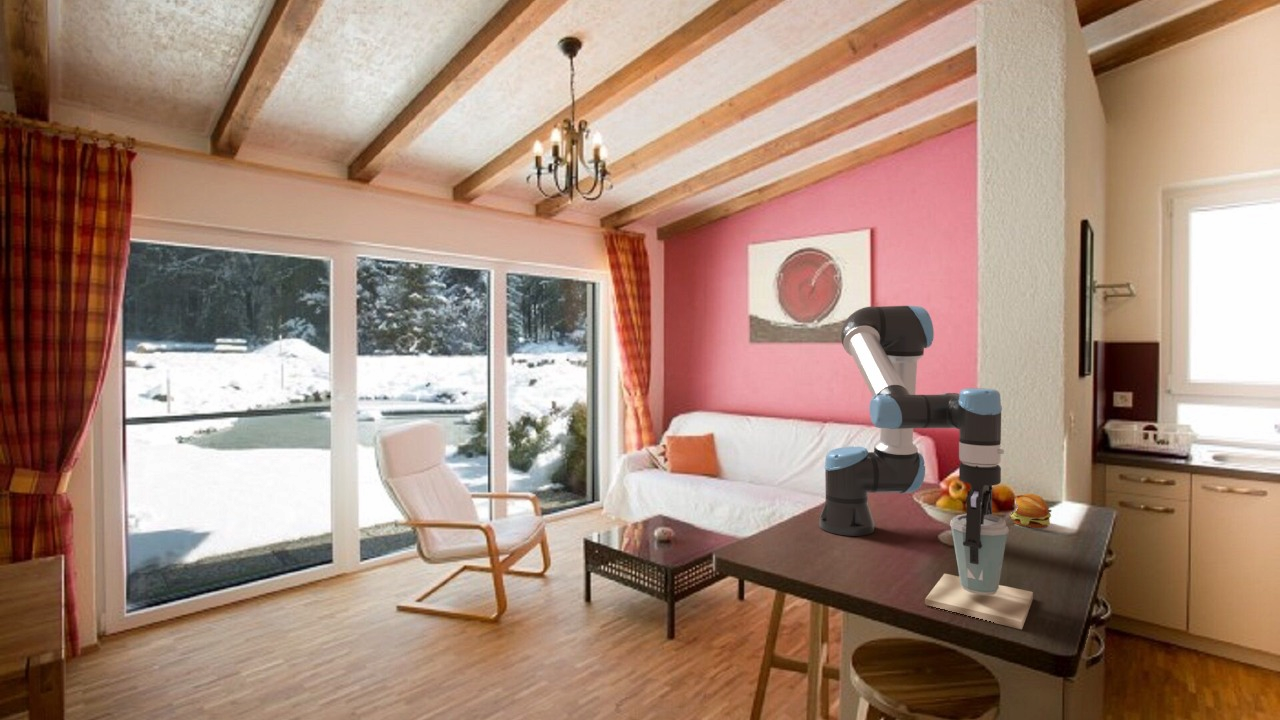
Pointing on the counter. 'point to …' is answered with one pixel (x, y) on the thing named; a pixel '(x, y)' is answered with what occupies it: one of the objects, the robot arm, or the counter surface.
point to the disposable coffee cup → (981, 554)
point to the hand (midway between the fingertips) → (979, 571)
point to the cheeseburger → (1031, 511)
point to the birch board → (982, 602)
